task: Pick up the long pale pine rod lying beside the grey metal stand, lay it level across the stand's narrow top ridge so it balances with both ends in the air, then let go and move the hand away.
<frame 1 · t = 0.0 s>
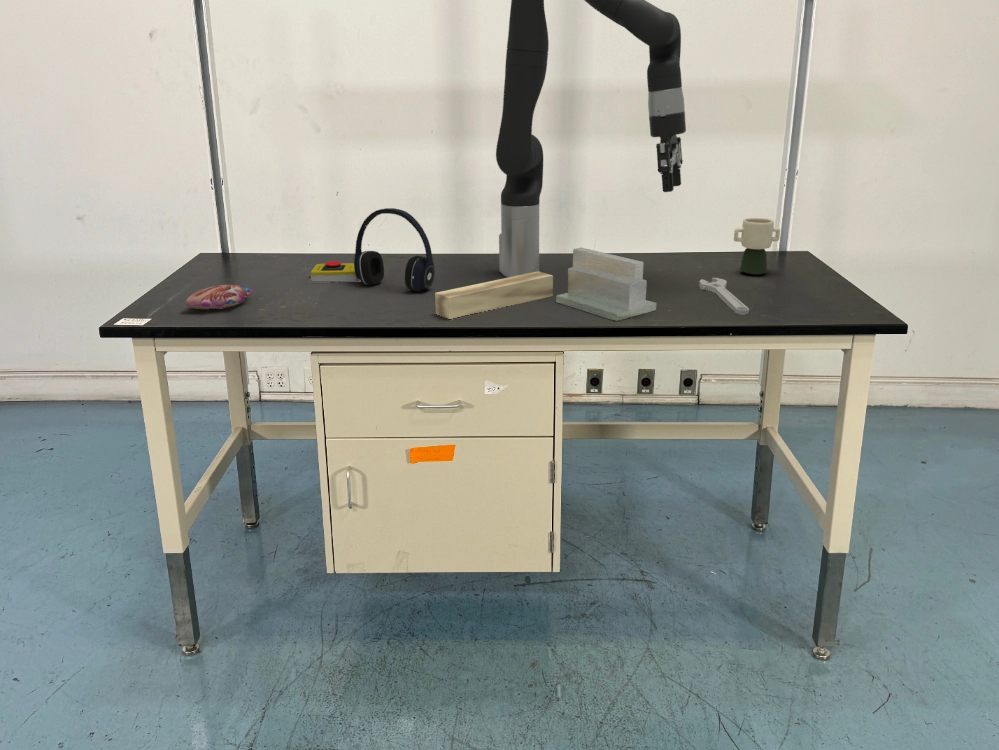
hand: (672, 188, 176), 22 cm above the table, tool pointing down, fingers open, 8 cm apart
adjustable wrench: (721, 300, 177), on the table
headphones: (395, 288, 188), on the table
anatomical model: (225, 306, 176), on the table
emergency button: (339, 281, 196), on the table
trophy cup: (752, 274, 196), on the table
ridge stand: (605, 306, 171), on the table
pine rod: (496, 306, 173), on the table
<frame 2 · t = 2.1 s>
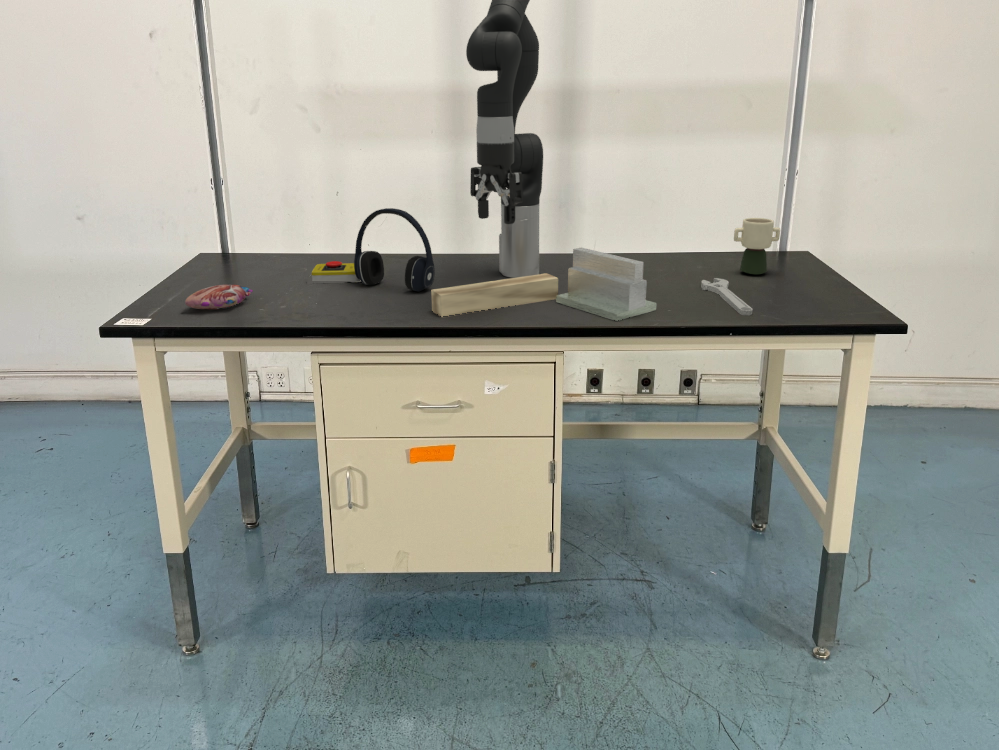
hand: (496, 220, 166), 18 cm above the table, tool pointing down, fingers open, 8 cm apart
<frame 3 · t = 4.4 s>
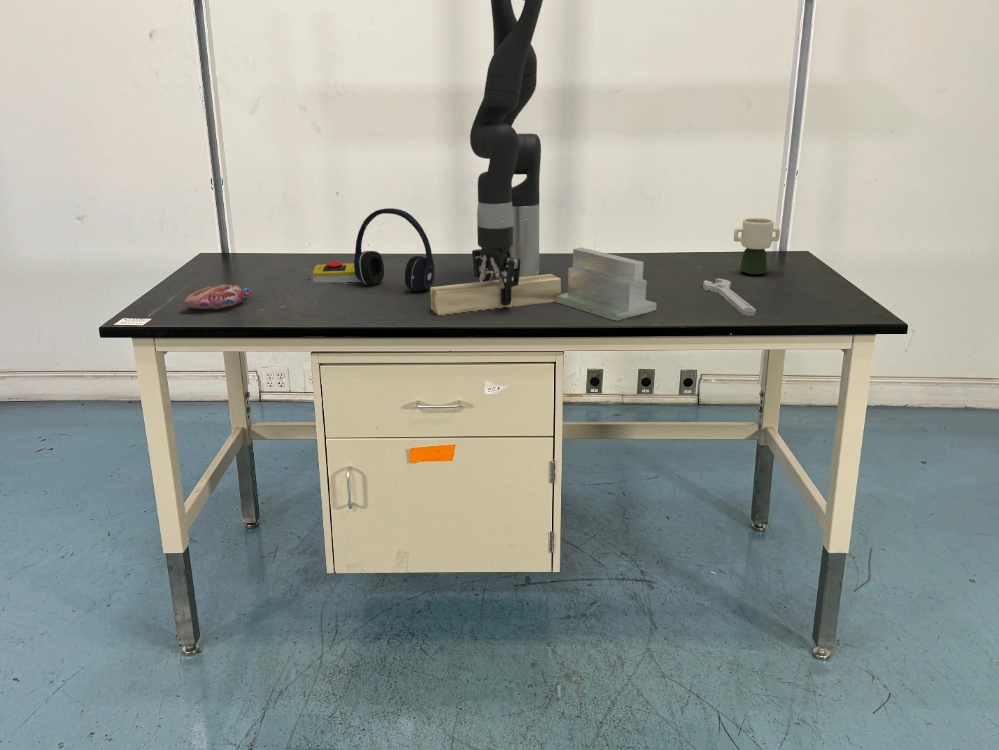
hand: (496, 301, 173), 1 cm above the table, tool pointing down, fingers closed on pine rod, 6 cm apart
pine rod: (496, 305, 173), on the table, touching gripper
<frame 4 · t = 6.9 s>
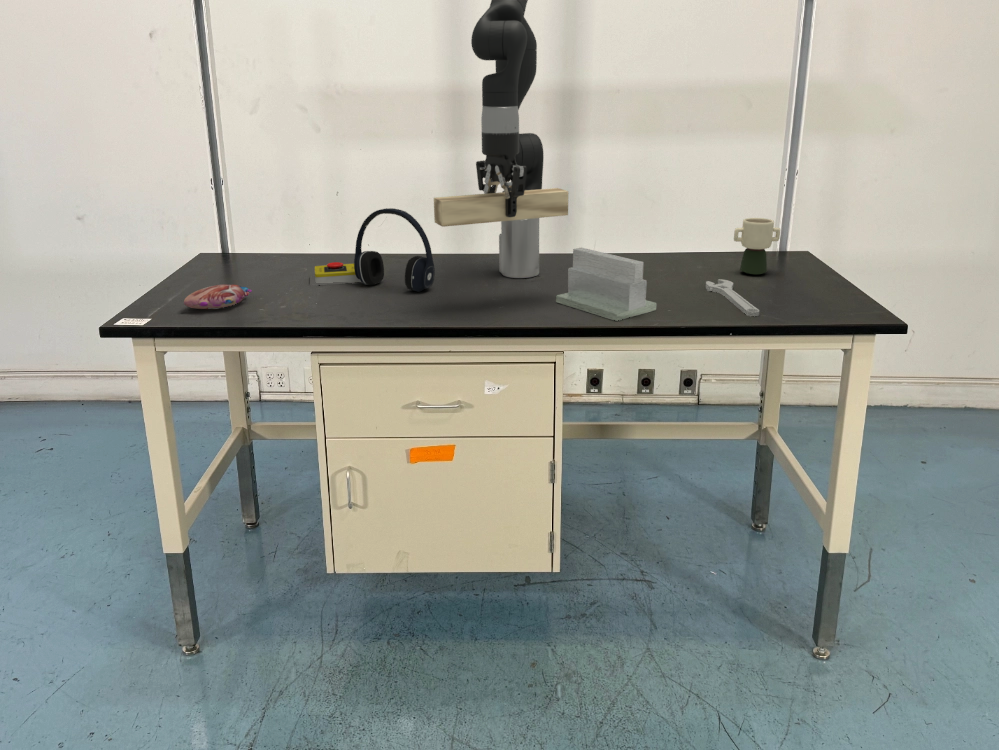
hand: (501, 214, 166), 19 cm above the table, tool pointing down, fingers closed on pine rod, 5 cm apart
pine rod: (502, 218, 166), point 18 cm above the table, touching gripper
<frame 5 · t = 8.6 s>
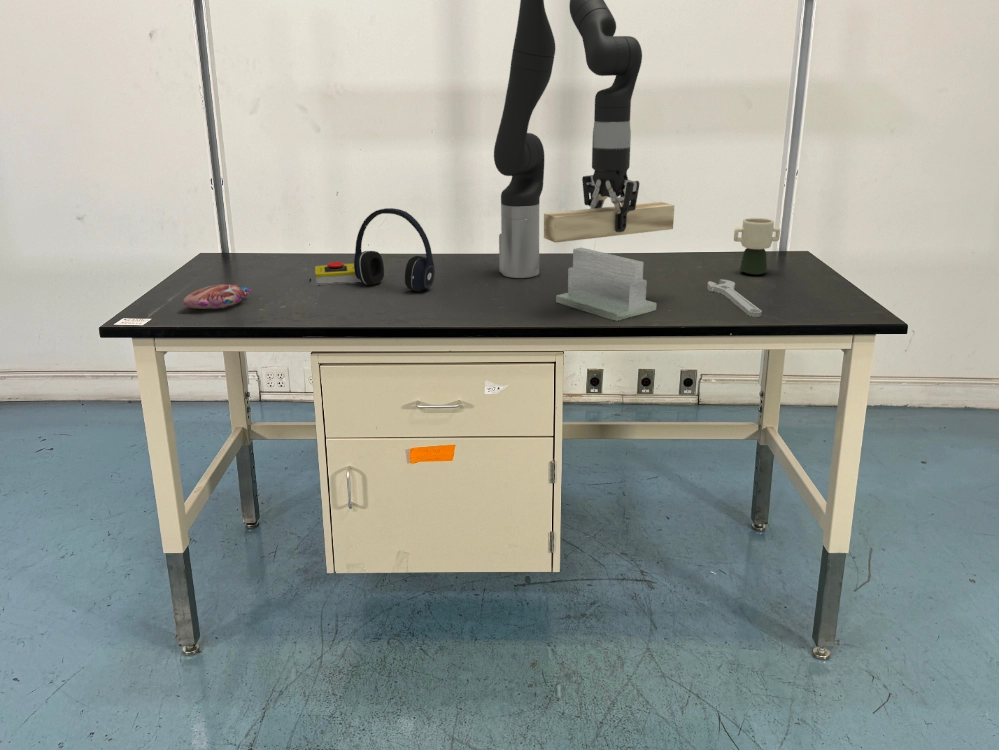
hand: (608, 229, 165), 16 cm above the table, tool pointing down, fingers closed on pine rod, 5 cm apart
pine rod: (609, 233, 166), point 16 cm above the table, touching gripper
when the fingers open (13 cm above the table, at t = 9.8 s): pine rod stays where it is, resting on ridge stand.
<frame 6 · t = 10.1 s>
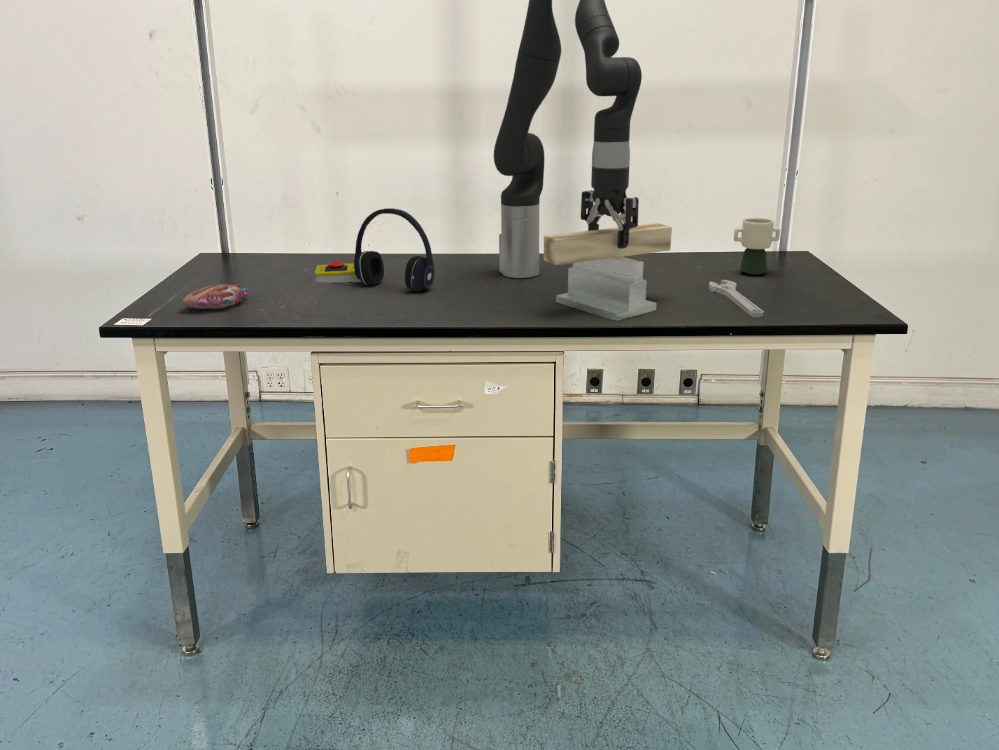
hand: (607, 244, 166), 13 cm above the table, tool pointing down, fingers open, 8 cm apart
pine rod: (608, 255, 167), point 11 cm above the table, touching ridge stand
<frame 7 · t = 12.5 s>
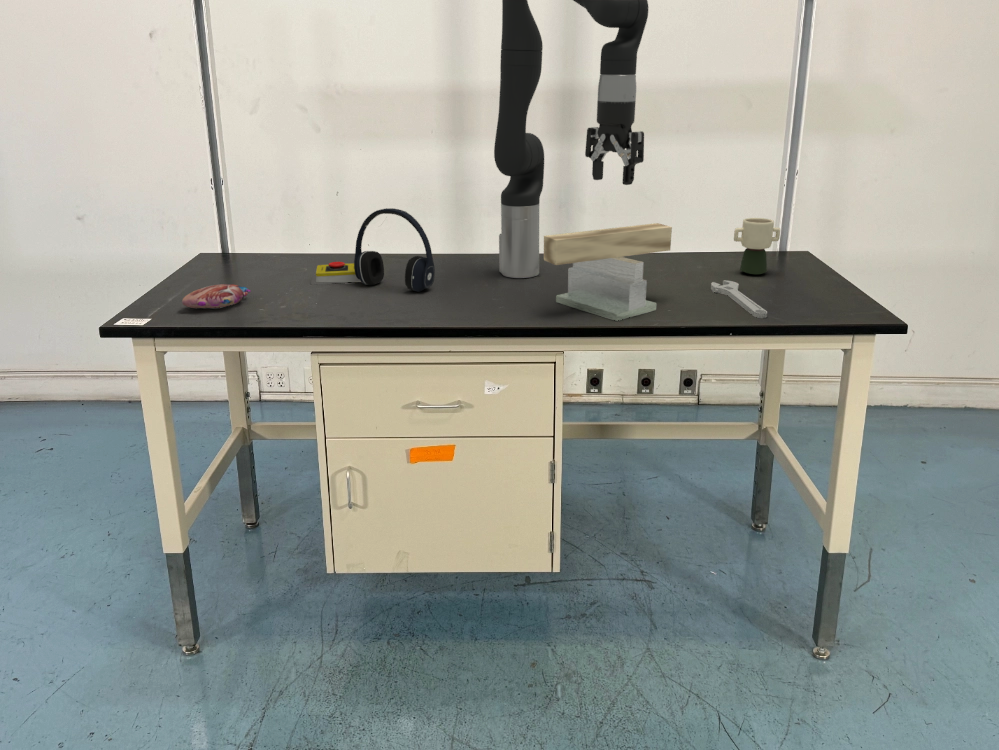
hand: (612, 182, 165), 26 cm above the table, tool pointing down, fingers open, 8 cm apart
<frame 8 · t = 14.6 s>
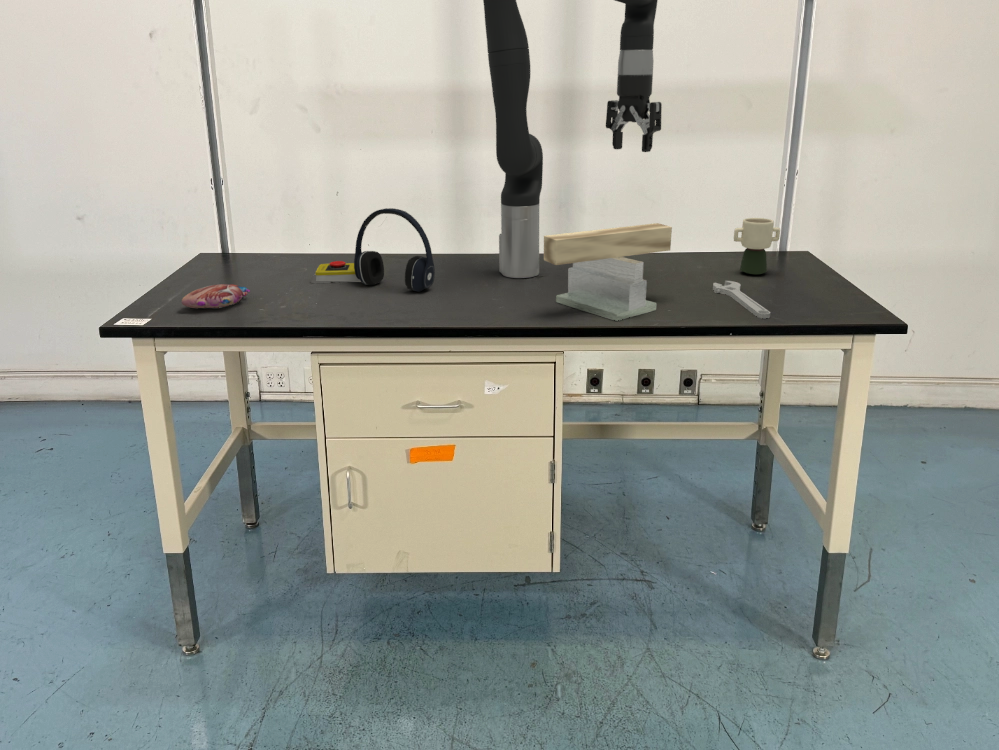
hand: (631, 150, 179), 30 cm above the table, tool pointing down, fingers open, 8 cm apart
at the end: pine rod 0.3 cm off-centre on the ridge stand, point 11.0 cm above the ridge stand's base; pine rod tilted 0°; pine rod touching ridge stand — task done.
